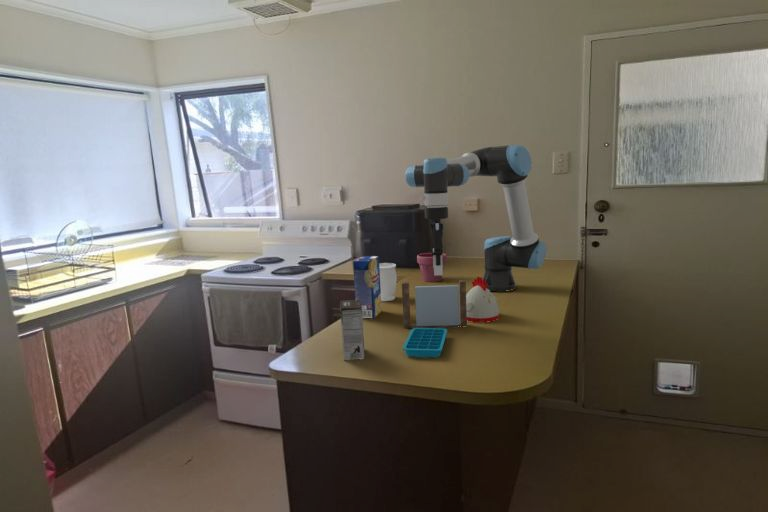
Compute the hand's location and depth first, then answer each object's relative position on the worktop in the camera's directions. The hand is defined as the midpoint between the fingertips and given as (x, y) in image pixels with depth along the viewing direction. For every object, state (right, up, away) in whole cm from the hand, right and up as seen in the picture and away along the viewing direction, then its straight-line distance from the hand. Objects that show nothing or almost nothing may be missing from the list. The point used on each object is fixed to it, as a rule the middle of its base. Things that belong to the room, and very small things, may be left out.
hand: (437, 271), depth 167 cm
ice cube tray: (-5, -24, -9) cm, 26 cm away
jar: (-17, -14, +51) cm, 55 cm away
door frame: (0, -20, +10) cm, 22 cm away
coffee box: (-27, -25, -13) cm, 39 cm away
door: (+1, -19, +11) cm, 22 cm away
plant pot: (+6, -7, +83) cm, 83 cm away
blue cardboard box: (-24, -18, +29) cm, 41 cm away
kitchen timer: (+17, -18, +19) cm, 31 cm away
